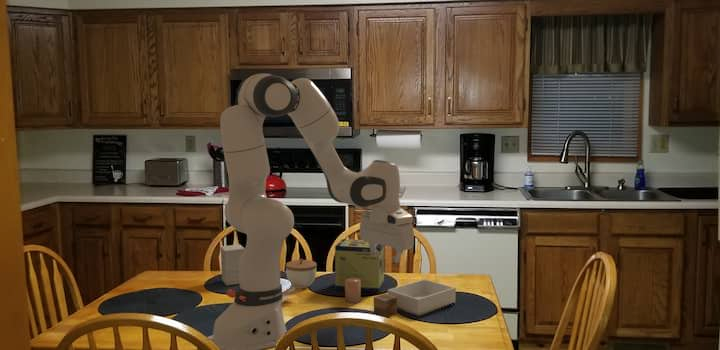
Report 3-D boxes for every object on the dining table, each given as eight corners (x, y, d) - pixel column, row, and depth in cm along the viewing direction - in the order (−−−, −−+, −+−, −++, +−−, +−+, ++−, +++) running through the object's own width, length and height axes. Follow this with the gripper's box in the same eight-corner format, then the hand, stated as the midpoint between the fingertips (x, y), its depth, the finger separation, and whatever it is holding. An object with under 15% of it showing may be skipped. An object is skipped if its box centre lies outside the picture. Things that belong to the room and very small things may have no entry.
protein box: (379, 292, 215) (379, 247, 213) (334, 290, 218) (334, 245, 216) (384, 283, 225) (384, 240, 223) (341, 281, 229) (341, 238, 227)
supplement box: (241, 277, 234) (240, 243, 232) (246, 283, 227) (245, 248, 225) (221, 280, 231) (220, 245, 229) (225, 285, 224) (224, 250, 222)
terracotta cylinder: (352, 304, 203) (352, 283, 202) (342, 301, 207) (341, 280, 206) (363, 301, 206) (363, 280, 206) (353, 297, 210) (353, 277, 209)
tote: (455, 303, 204) (455, 287, 203) (418, 315, 193) (418, 299, 192) (424, 293, 214) (424, 279, 213) (387, 305, 202) (387, 289, 202)
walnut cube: (385, 317, 192) (385, 301, 191) (373, 313, 196) (373, 297, 195) (397, 313, 195) (397, 297, 195) (385, 309, 199) (385, 293, 198)
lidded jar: (322, 284, 225) (322, 257, 224) (304, 292, 216) (303, 264, 215) (298, 279, 231) (298, 253, 230) (279, 286, 222) (279, 260, 221)
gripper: (354, 210, 197) (355, 254, 199) (402, 220, 182) (402, 267, 184) (369, 208, 201) (369, 251, 203) (417, 217, 186) (417, 263, 188)
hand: (385, 259), depth 193 cm, fingers open, 8 cm apart
